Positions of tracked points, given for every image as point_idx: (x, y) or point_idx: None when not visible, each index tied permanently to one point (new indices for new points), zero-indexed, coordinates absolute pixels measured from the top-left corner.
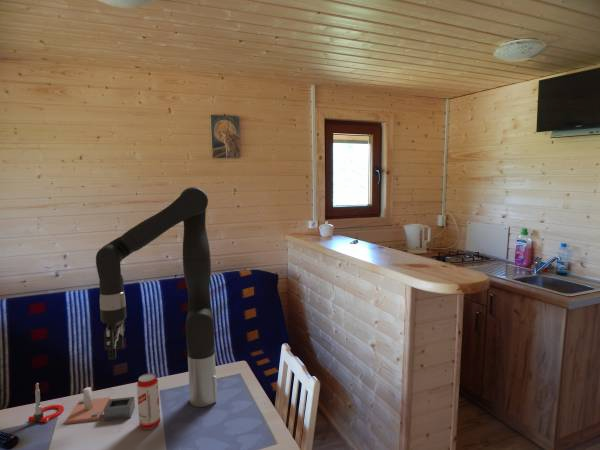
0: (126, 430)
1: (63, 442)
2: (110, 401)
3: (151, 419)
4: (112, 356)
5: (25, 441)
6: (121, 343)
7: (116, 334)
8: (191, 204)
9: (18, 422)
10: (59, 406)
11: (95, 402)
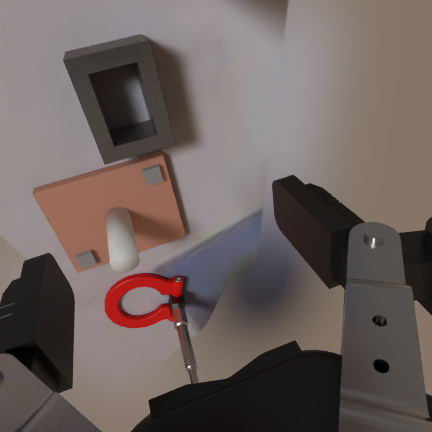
0: (216, 13)
1: (259, 183)
2: (118, 150)
3: None
4: (327, 198)
5: (247, 264)
6: (46, 291)
7: (416, 366)
8: None
9: None
10: (113, 298)
11: (79, 219)
